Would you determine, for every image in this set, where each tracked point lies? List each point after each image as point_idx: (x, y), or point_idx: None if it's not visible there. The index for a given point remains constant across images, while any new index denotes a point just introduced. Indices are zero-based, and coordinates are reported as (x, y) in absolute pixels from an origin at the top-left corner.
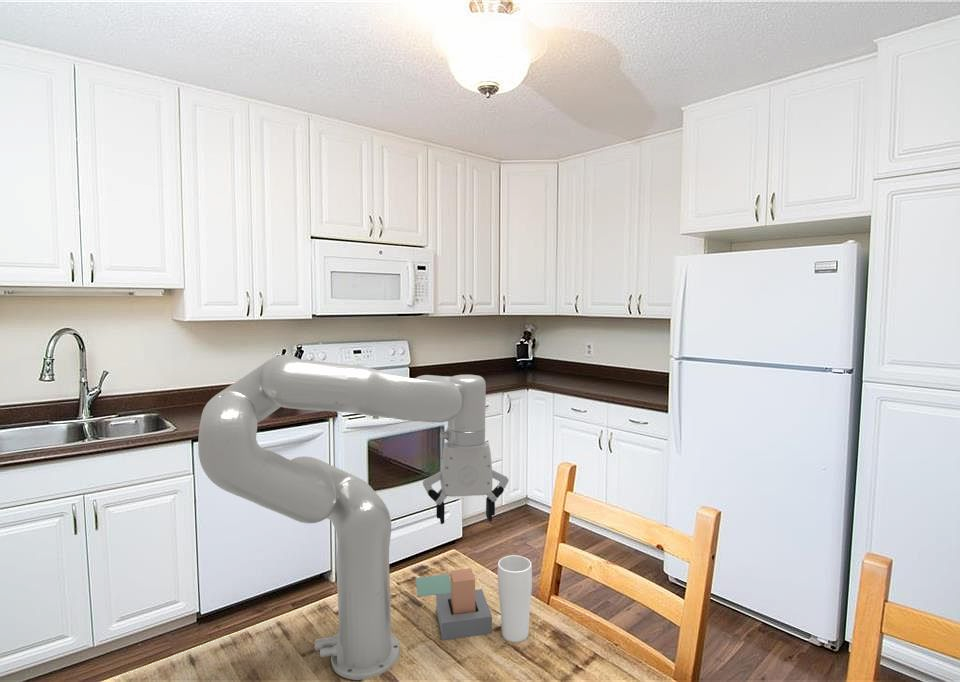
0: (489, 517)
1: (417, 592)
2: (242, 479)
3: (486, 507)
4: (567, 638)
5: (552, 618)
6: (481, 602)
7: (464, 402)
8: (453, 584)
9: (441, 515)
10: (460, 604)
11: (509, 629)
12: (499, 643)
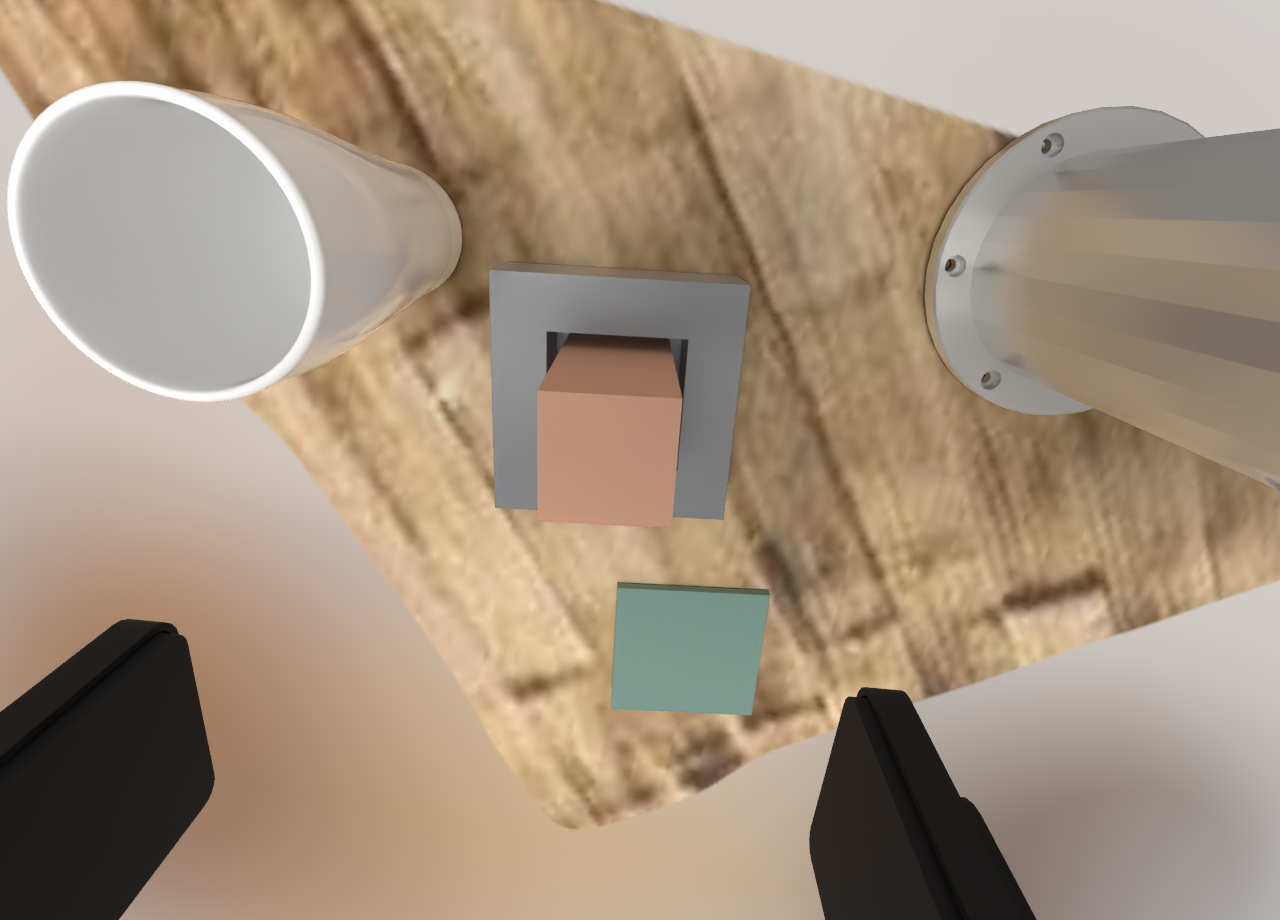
0: (124, 660)
1: (764, 621)
2: None
3: (114, 890)
4: None
5: None
6: (518, 400)
7: None
8: (681, 394)
9: (950, 795)
10: (638, 360)
11: (418, 176)
12: (486, 197)
